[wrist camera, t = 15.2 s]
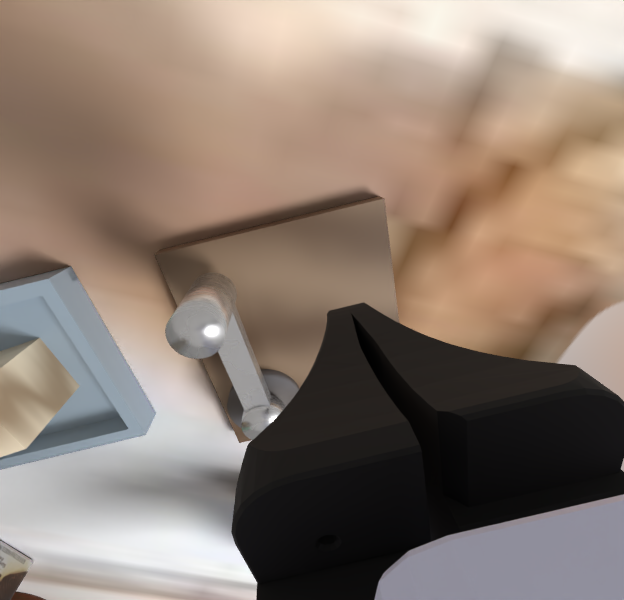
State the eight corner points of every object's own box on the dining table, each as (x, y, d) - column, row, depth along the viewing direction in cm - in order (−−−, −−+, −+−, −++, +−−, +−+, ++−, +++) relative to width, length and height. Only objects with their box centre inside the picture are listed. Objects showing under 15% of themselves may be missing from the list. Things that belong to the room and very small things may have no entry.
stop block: (79, 386, 21) (26, 448, 17) (25, 404, 22) (-42, 470, 17) (39, 337, 20) (-32, 393, 15) (-19, 357, 20) (-107, 418, 15)
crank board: (404, 393, 25) (412, 410, 23) (240, 432, 25) (238, 451, 23) (378, 196, 19) (388, 200, 17) (160, 249, 19) (149, 259, 17)
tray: (155, 413, 24) (145, 434, 22) (3, 449, 24) (-20, 474, 22) (70, 266, 19) (48, 278, 17) (-122, 313, 19) (-165, 330, 17)
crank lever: (290, 420, 22) (292, 483, 18) (251, 430, 22) (244, 495, 18) (232, 265, 17) (216, 301, 13) (181, 278, 17) (150, 319, 13)
